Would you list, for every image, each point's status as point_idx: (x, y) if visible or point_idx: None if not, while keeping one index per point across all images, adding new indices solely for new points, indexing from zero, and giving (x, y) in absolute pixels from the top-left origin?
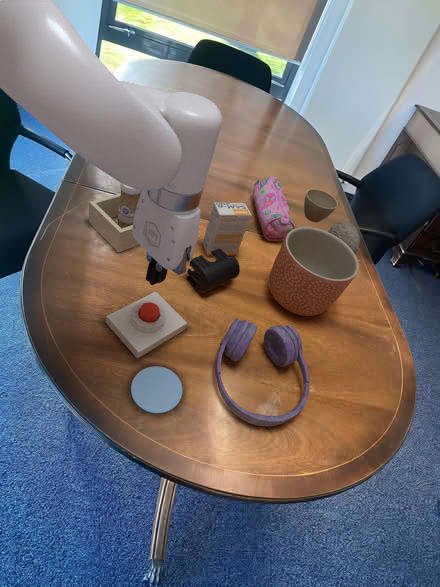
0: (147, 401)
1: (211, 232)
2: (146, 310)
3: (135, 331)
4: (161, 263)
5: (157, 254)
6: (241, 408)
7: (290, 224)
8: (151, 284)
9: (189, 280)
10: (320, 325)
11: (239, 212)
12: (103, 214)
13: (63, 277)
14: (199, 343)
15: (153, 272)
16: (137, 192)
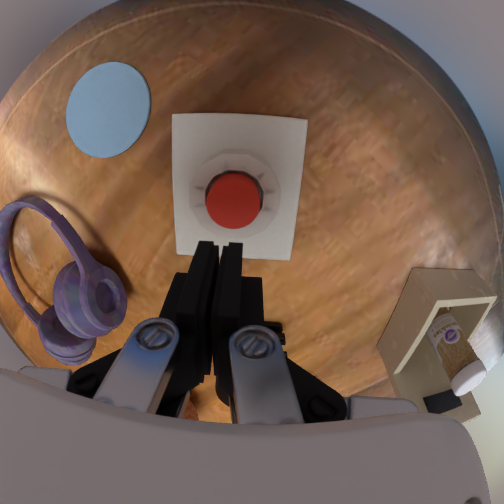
0: (96, 81)
1: None
2: (235, 194)
3: (224, 143)
4: (1, 394)
5: (27, 467)
6: (11, 208)
7: None
8: (198, 242)
9: (272, 325)
10: None
11: None
12: (474, 299)
13: (440, 146)
14: (142, 242)
15: (184, 293)
16: (455, 380)
